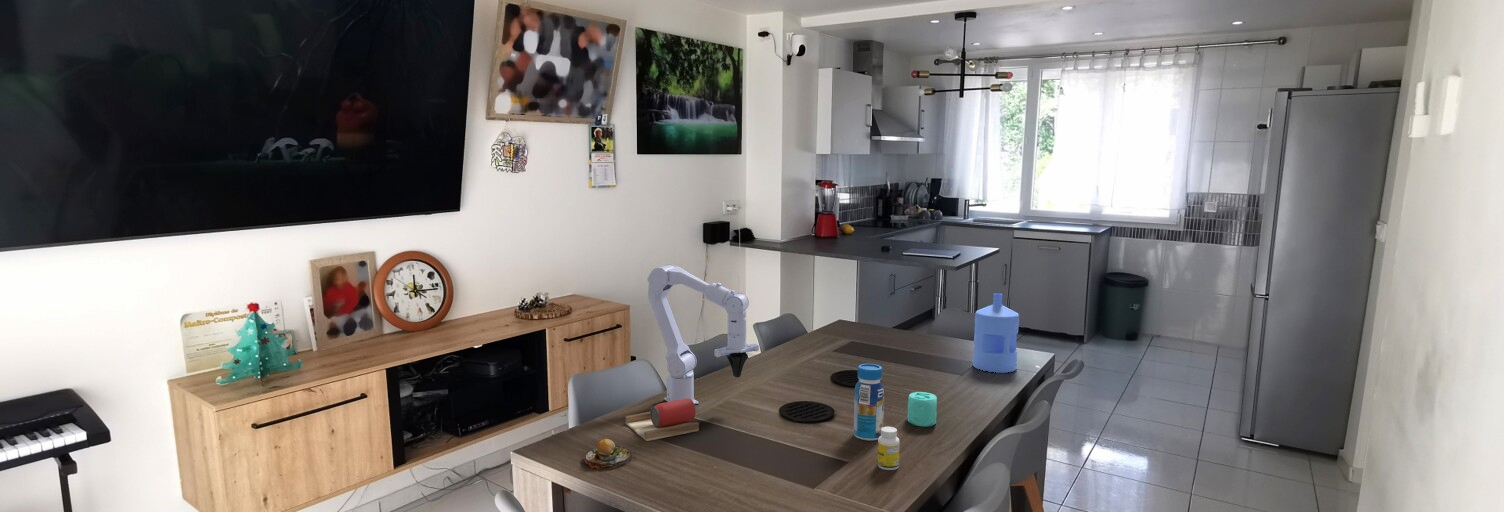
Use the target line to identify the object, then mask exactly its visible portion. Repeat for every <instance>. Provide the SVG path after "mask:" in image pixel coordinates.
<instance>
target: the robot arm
mask: <svg viewBox="0 0 1504 512" xmlns="http://www.w3.org/2000/svg"><path fill="white" fill-rule="evenodd" d="M647 281H648V290H647V291H648V292H647V298H648V301H649V303H650V305H651V309H652V312H653V313H654V314H653V315H654V316H655V320H656V322H657V325H658V327H659V330H660V332H661V335H662V338H663V341H664V343H665V346H666V349H667V350H666V355H665V359H666V362H667V364H666V365H667V367H666V368H667V369H666V370H667V371H668V373H669V375H668V376H667V378H666V397H664V398H663V399H664V400H665V402H671V401H676V400H681V399H687V398H689V399H691V400H692V401H693V403H694V405H697V404H699V401H698V400H696V399H695V395H694V383H695V382H694V381H695V380H694V376H695V375H694V369H695V367H696V366H697V364H698V363H697V357H696V355H695V354H694V353H693V352H692V351H691V349H690V347H689V345H687V344H686V343H685V342H684V341H683V338H682V334H681V331H680V329H679V327H678V325H677V322H676V319H675V316H674V314H673V311H672V308H671V306H670V303H669V300H668V298H667V296H668V294H669V292H670V290H671V288H672V287H673V286H675V285H684V286H686V287H688V288H690V289H693V290H694V291H697V292H700V293H702V294H704V297H705V299H706V301H709V302H712V304H715V305H717V306H719V307H721V308H723V309H724V310H725V311H726V313H727V346H724V347H721V348H716V349H714V356H715V357H716V358H720V357H723V356H724V357H725V356H726V358H727V360H728V362H729V364H730V367H731V370H732V376H733V377H734V378H741V376H742V371H743V367H744V366H745V363H746V361H747V359H748V357H749V356H748V354H747V353H750V352H751V353H753V352H760V351H759V349H760V347H759V346H760V345H759V344H757V343H749V344H747V309H748V308H749V305H750V301H749V298H748V296H747V295H746V294H744V293H743V292H736V291H735V290H734V289H732V290H731V289H729V288H726V287H724V286H723V284H722V283H721V282H712V283H708V282H706V281H705V280H703V279H701V278H700V277H697V276H695V275H694V274H691V272H688V271H686V270H685V269H683V268H682V267H680V266H677V265H675V264H674V263H668V264H665V265H663V266H660V267H655V268H653V269H652V270H651V272H650V273H649V275H648V276H647Z"/></svg>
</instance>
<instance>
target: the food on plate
mask: <svg viewBox="0 0 1504 512" xmlns="http://www.w3.org/2000/svg"><path fill="white" fill-rule="evenodd" d="M632 458H633V457H632V451H631V450H630V449H628V448H626V447H623V446H620V445H619V446H618V445H615V442H614V441H613V440H611V439H609V438H604V437H603V439H601V440H600V441H599V442H598V443H597V446H596V447H595V448H592V449H590V450H589V451H587V452H586V453H585V454H584V464H586V465H588V467H589V468H592V469H594V468H596V470H612V469H617V468H621V467H624V466H626V465H628V464H629V463H630V462H631V461H632Z"/></svg>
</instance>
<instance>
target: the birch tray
mask: <svg viewBox="0 0 1504 512" xmlns="http://www.w3.org/2000/svg"><path fill="white" fill-rule="evenodd" d="M624 418H625V425H627V426H628V427H629V428H630V429H631V430H632V431H634V432H635V433H636V434H637V435H638V436H640V437H641V439H643V440H644V441H646V442H649V441H655V440H660V439H664V438H669V437H674V436H680V435H685V434H690V433H694V432H696V433H697V432H699V431H700V423H699V422H697V421H695V422H691V421H688V422H683V423H678V424H674V425H669V426H664V427H662V426H654V425H653V423H652V421H651V416H650V411H646V412H642V413H641V412H640V413H635V414H629V415H625V416H624Z"/></svg>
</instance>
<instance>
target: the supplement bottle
mask: <svg viewBox="0 0 1504 512" xmlns="http://www.w3.org/2000/svg"><path fill="white" fill-rule="evenodd" d="M881 435H882V436H880V437H879V438H878V440H877V460H876V461H877V467H878V468H879V469H881V470H884V471H895V470H897V469H899V467H900V446H901V445H900V438H899V437H898V429H897V428H895V427H893V426H883V428H881Z"/></svg>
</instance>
